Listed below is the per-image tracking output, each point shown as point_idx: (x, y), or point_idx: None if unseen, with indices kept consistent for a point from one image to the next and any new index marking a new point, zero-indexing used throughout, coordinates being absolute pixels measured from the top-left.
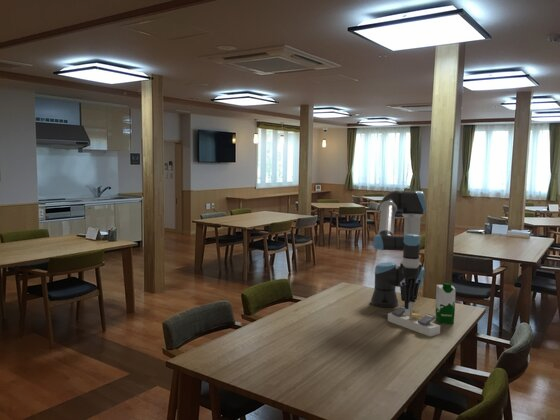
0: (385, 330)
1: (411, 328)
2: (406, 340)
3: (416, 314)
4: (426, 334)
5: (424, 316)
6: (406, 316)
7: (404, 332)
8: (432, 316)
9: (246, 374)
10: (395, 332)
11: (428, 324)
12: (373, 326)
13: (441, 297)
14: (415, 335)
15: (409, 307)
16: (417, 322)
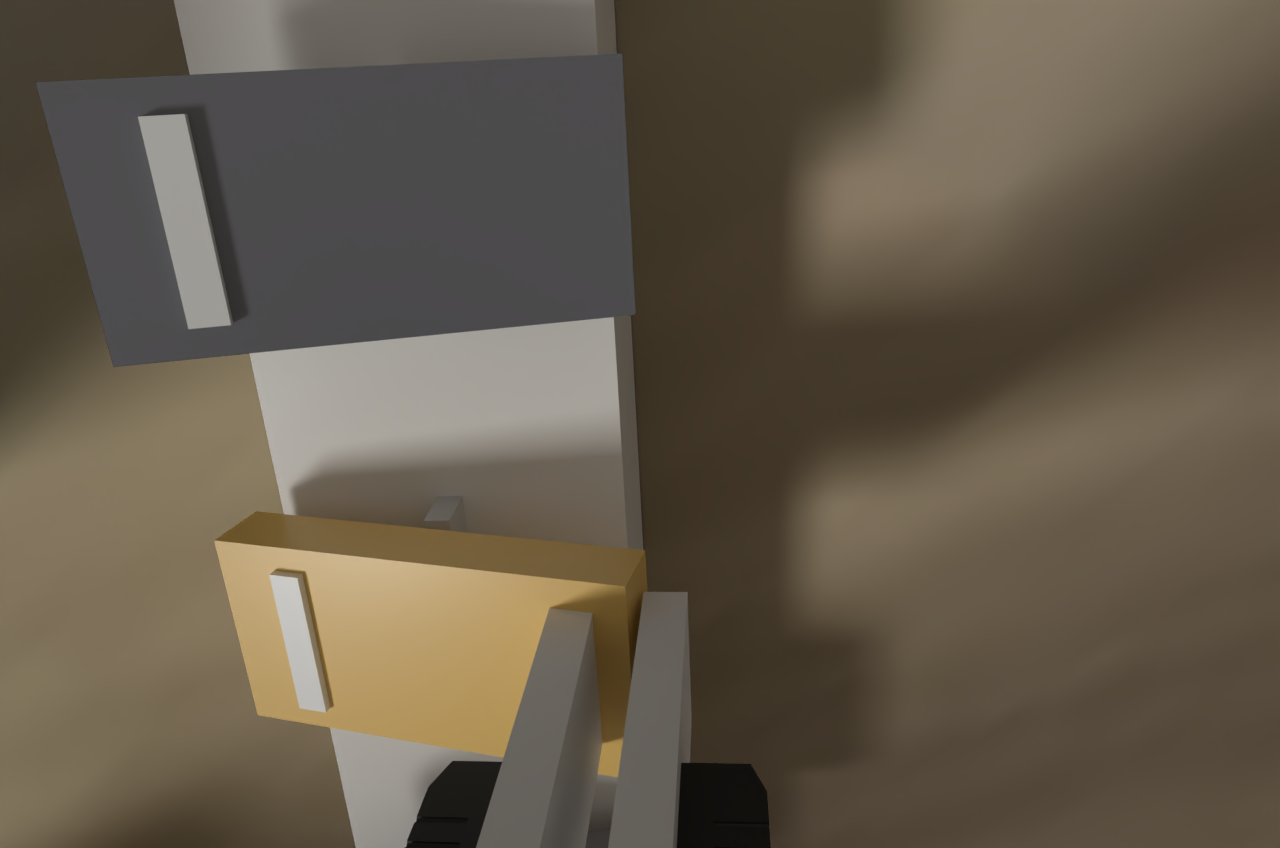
0: (1084, 629)
1: (634, 424)
2: (1269, 14)
3: (358, 607)
4: (613, 9)
5: (322, 343)
6: (467, 752)
7: (877, 382)
8: (146, 132)
9: None
10: (1024, 471)
11: None
12: (1077, 843)
13: None
14: (831, 138)
15: (674, 768)
16: (547, 376)
